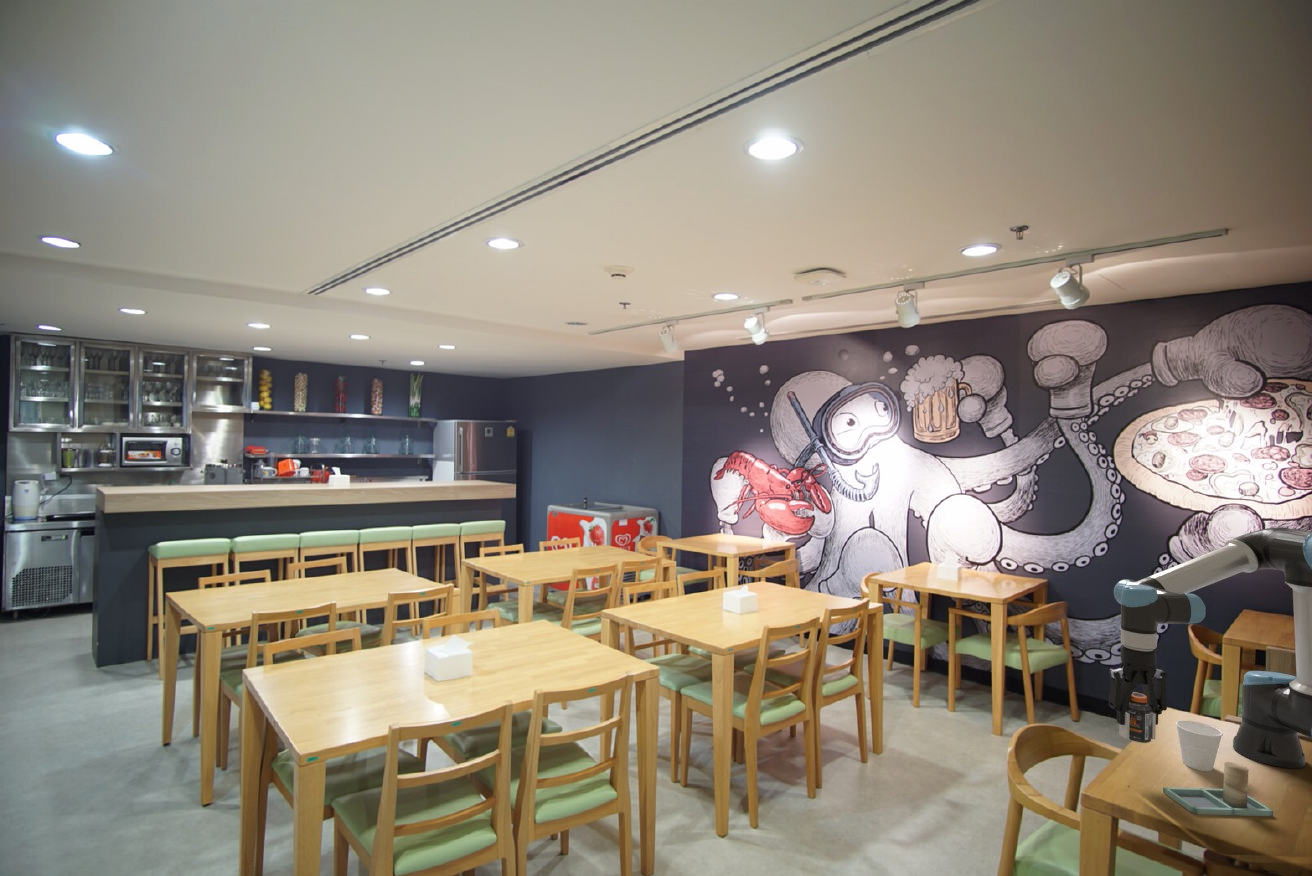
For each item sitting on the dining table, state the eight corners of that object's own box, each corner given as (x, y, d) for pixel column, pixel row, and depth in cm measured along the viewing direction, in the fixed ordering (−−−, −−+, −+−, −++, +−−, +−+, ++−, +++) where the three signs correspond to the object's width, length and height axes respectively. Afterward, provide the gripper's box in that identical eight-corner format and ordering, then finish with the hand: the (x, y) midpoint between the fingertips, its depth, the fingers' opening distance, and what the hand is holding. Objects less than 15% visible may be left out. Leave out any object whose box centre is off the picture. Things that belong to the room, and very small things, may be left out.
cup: (1230, 780, 177) (1231, 738, 177) (1186, 775, 179) (1188, 733, 179) (1207, 762, 187) (1209, 722, 187) (1166, 758, 189) (1168, 718, 189)
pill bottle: (1117, 735, 178) (1118, 692, 177) (1132, 731, 180) (1133, 688, 180) (1141, 745, 172) (1142, 700, 172) (1156, 741, 174) (1157, 696, 174)
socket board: (1237, 798, 168) (1238, 789, 168) (1273, 820, 159) (1273, 810, 159) (1162, 796, 168) (1163, 787, 168) (1193, 818, 159) (1194, 808, 159)
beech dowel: (1236, 799, 166) (1237, 762, 166) (1252, 809, 161) (1253, 771, 161) (1218, 798, 166) (1219, 761, 166) (1233, 808, 161) (1235, 770, 161)
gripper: (1164, 642, 179) (1163, 730, 180) (1091, 642, 179) (1090, 730, 180) (1186, 651, 172) (1185, 743, 172) (1111, 651, 172) (1109, 743, 172)
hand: (1137, 736), depth 176 cm, fingers closed on pill bottle, 6 cm apart
